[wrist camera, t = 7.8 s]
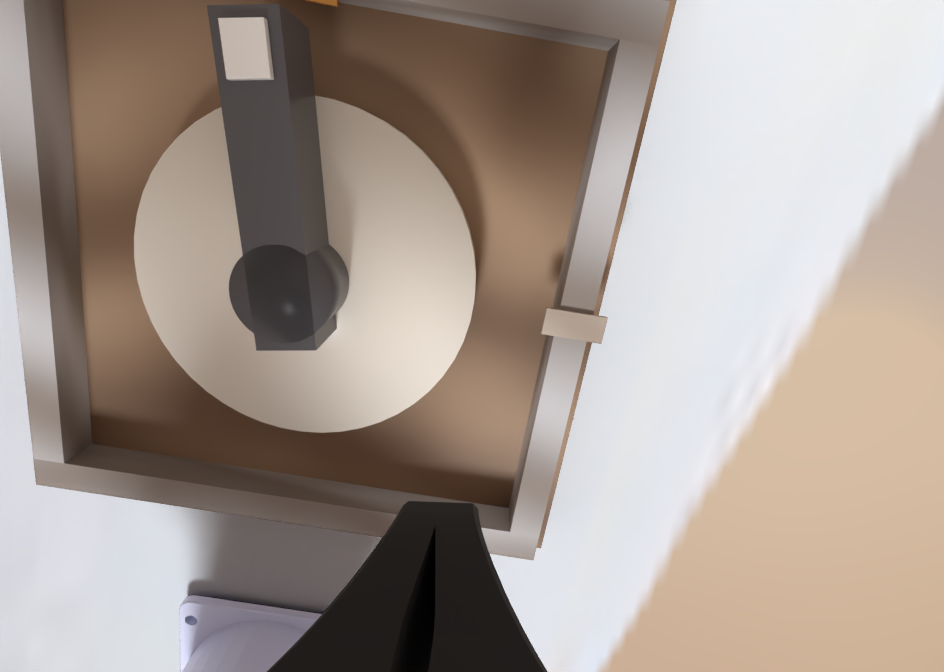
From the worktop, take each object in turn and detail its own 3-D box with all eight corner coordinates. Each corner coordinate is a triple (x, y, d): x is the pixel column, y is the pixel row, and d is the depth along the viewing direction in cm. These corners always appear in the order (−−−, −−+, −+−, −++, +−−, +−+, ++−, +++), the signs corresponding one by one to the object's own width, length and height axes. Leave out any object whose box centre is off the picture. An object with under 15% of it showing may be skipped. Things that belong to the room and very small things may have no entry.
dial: (477, 418, 18) (475, 471, 14) (185, 418, 18) (123, 469, 15) (474, 34, 14) (471, -3, 11) (112, 41, 14) (11, 5, 11)
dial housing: (536, 522, 21) (544, 576, 18) (83, 452, 20) (19, 496, 17) (658, 14, 15) (697, -20, 13) (43, -98, 15) (-60, -161, 12)
